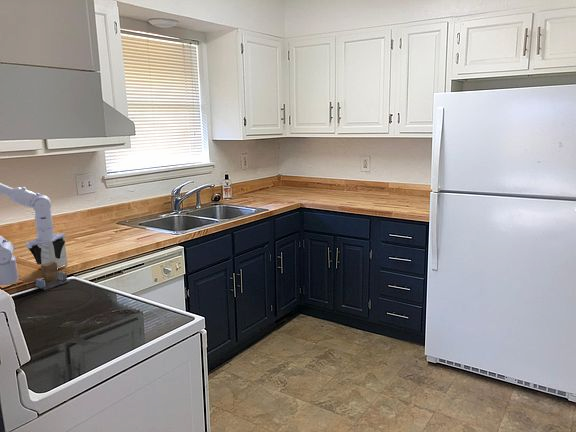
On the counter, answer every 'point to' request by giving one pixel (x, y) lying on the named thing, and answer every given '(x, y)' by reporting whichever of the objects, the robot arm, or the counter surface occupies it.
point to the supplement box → (52, 254)
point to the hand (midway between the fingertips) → (48, 260)
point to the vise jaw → (40, 283)
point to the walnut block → (49, 270)
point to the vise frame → (56, 281)
